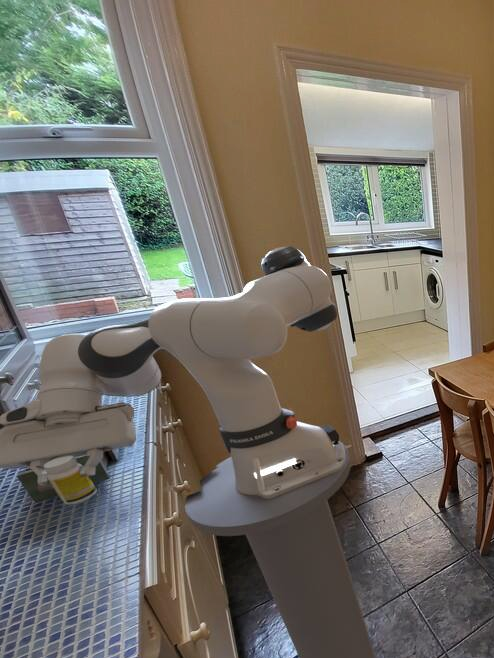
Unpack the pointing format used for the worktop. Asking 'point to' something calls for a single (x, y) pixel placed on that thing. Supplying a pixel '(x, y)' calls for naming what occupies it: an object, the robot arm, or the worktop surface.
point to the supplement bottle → (69, 480)
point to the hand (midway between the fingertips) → (66, 479)
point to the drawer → (47, 491)
